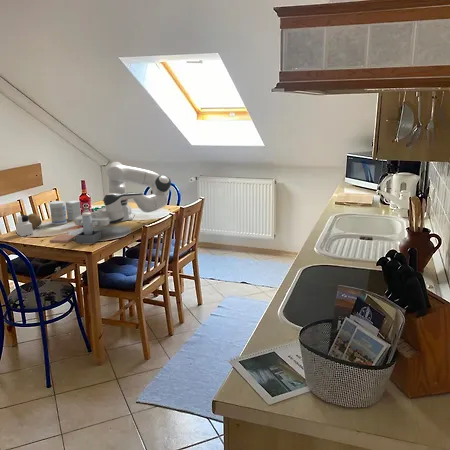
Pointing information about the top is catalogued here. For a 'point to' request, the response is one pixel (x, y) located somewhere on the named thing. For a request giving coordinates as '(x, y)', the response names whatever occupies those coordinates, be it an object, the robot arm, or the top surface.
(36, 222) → the natural sponge
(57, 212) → the supplement tub
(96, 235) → the parts tub
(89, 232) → the canister
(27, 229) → the medicine bottle
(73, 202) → the supplement box
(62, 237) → the terracotta tile
